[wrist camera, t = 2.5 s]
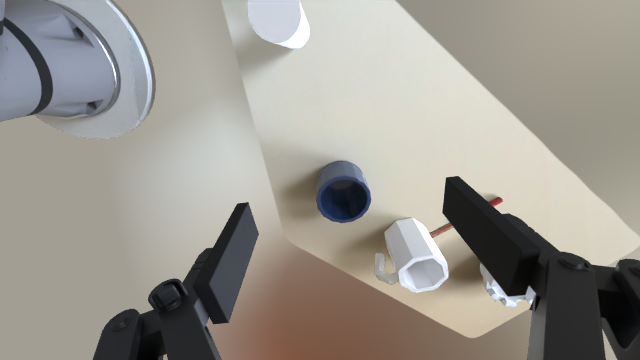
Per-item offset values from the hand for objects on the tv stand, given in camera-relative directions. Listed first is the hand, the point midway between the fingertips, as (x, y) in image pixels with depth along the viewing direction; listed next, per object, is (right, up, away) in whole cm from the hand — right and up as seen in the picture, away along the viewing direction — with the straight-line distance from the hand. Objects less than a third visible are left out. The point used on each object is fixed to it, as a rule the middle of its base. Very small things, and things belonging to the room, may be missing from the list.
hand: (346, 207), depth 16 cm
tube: (-5, +22, +17) cm, 28 cm away
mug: (+14, -10, +33) cm, 37 cm away
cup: (+2, +1, +27) cm, 27 cm away
